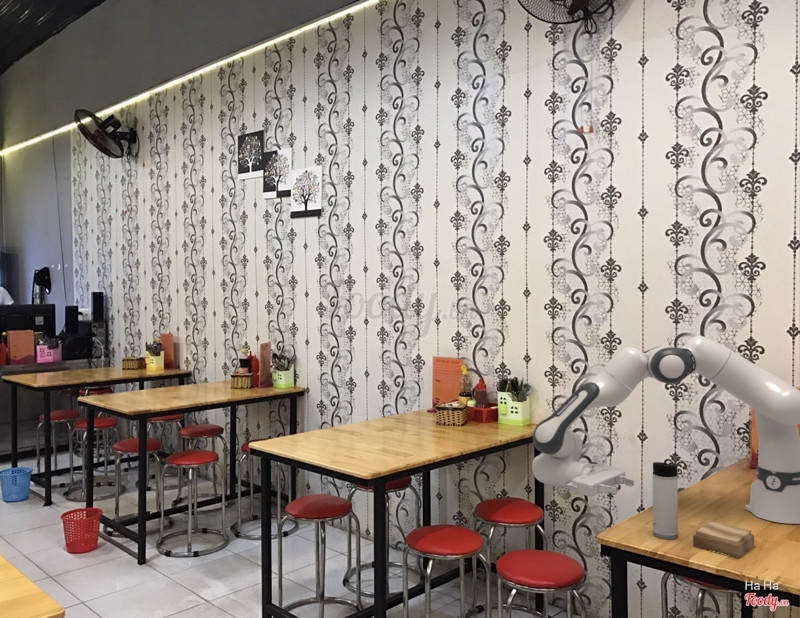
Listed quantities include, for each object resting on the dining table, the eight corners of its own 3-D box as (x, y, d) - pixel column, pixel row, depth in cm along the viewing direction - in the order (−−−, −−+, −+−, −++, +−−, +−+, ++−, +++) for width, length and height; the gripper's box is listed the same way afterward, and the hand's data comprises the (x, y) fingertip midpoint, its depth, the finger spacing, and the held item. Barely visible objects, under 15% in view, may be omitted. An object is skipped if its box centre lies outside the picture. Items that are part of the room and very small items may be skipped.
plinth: (709, 535, 176) (709, 520, 176) (753, 546, 168) (753, 530, 168) (693, 546, 168) (693, 531, 168) (738, 558, 160) (738, 542, 160)
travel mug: (648, 535, 176) (648, 462, 176) (659, 529, 181) (658, 457, 180) (671, 541, 172) (671, 466, 171) (681, 535, 176) (681, 461, 176)
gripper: (562, 473, 187) (606, 483, 177) (598, 460, 201) (641, 468, 191) (562, 495, 187) (606, 506, 177) (599, 480, 201) (641, 490, 191)
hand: (625, 486), depth 184 cm, fingers open, 8 cm apart
